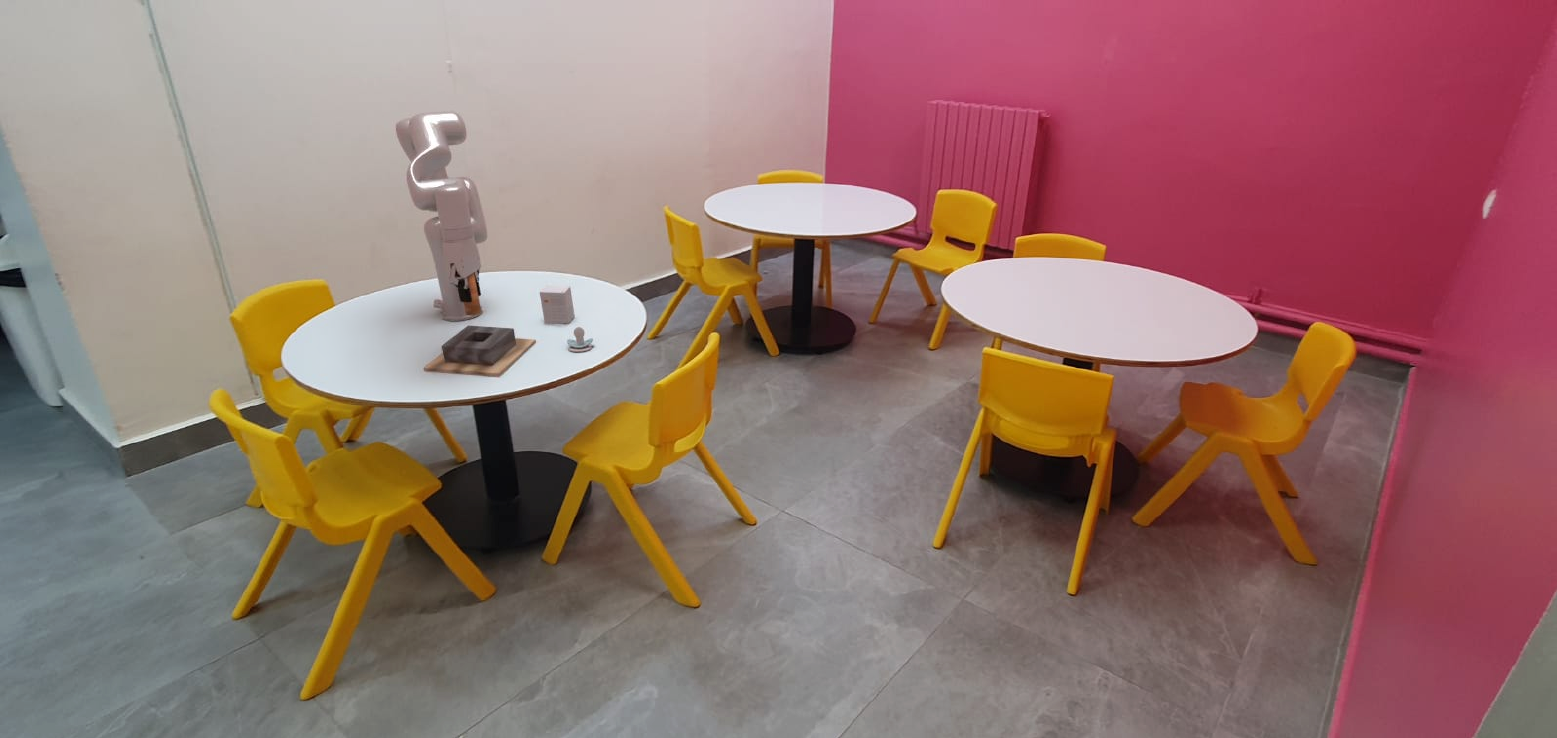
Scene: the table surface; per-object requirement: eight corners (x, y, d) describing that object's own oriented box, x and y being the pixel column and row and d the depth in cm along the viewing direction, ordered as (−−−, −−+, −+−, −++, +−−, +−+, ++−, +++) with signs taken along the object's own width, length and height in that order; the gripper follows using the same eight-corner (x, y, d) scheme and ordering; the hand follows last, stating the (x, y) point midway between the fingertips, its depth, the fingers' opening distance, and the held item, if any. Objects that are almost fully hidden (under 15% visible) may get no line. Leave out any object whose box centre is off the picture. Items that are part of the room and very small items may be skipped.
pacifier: (592, 353, 212) (594, 343, 217) (589, 333, 209) (592, 324, 214) (566, 354, 211) (569, 344, 217) (563, 334, 208) (566, 325, 214)
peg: (463, 314, 202) (454, 273, 196) (470, 309, 205) (462, 268, 200) (476, 315, 201) (468, 273, 196) (484, 310, 205) (476, 268, 199)
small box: (575, 317, 235) (571, 286, 230) (569, 324, 230) (564, 292, 225) (550, 316, 235) (546, 285, 231) (544, 323, 231) (539, 291, 226)
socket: (424, 370, 201) (419, 350, 198) (466, 337, 221) (462, 319, 218) (500, 376, 198) (496, 356, 196) (536, 342, 218) (533, 323, 215)
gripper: (461, 223, 201) (473, 287, 209) (426, 241, 186) (441, 309, 194) (487, 224, 200) (498, 288, 208) (453, 242, 185) (467, 310, 193)
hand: (470, 298), depth 201 cm, fingers closed on peg, 4 cm apart
